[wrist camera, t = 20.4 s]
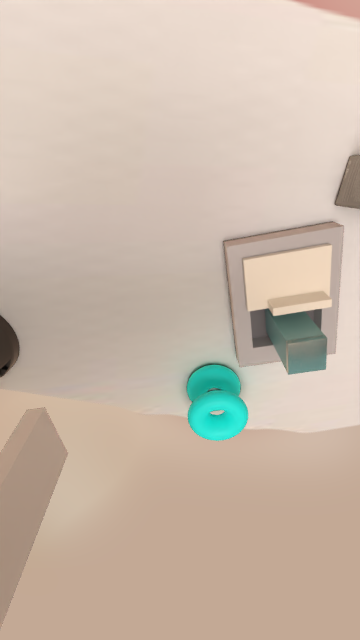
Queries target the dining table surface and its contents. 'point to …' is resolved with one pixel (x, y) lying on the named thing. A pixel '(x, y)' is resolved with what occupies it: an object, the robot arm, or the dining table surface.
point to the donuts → (216, 403)
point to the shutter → (289, 280)
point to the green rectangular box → (297, 341)
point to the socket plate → (252, 324)
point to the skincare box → (350, 185)
